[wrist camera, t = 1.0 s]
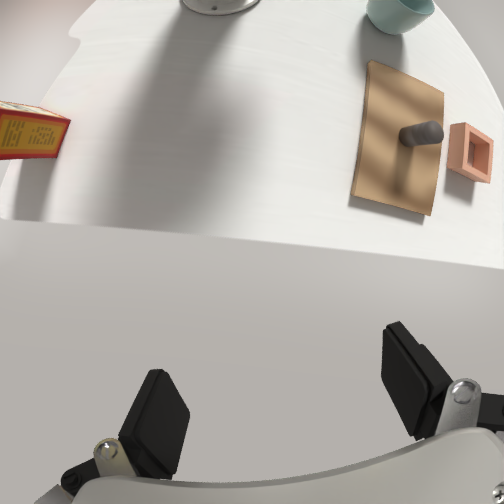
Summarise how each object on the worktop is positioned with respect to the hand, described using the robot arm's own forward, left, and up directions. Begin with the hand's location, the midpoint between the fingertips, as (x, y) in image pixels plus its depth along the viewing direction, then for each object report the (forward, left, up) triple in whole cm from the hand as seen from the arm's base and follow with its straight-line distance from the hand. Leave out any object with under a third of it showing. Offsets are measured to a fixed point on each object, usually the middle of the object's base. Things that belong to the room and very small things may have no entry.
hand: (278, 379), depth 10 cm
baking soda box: (-13, -38, -27) cm, 48 cm away
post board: (-18, +17, -27) cm, 36 cm away
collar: (-20, +30, -27) cm, 45 cm away
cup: (-38, +13, -27) cm, 48 cm away
